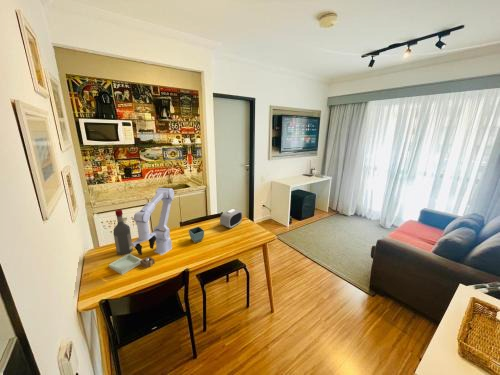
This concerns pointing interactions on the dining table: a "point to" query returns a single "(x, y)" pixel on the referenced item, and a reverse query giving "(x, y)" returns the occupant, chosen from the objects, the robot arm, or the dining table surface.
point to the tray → (125, 263)
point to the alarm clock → (231, 218)
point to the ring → (149, 263)
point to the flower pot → (196, 234)
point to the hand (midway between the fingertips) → (146, 251)
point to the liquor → (122, 235)
